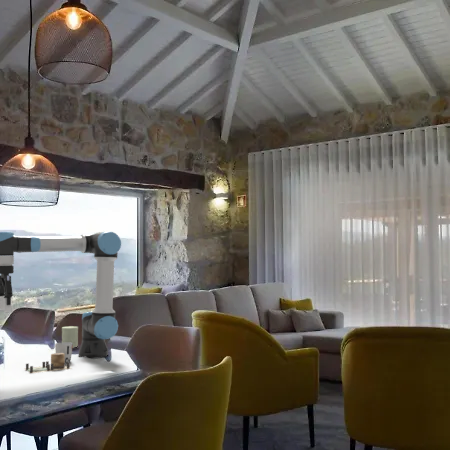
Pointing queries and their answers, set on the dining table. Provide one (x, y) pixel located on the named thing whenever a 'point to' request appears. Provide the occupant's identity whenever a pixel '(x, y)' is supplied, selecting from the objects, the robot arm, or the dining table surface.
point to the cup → (64, 350)
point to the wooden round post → (58, 360)
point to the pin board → (45, 368)
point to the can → (70, 335)
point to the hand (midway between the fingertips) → (4, 311)
